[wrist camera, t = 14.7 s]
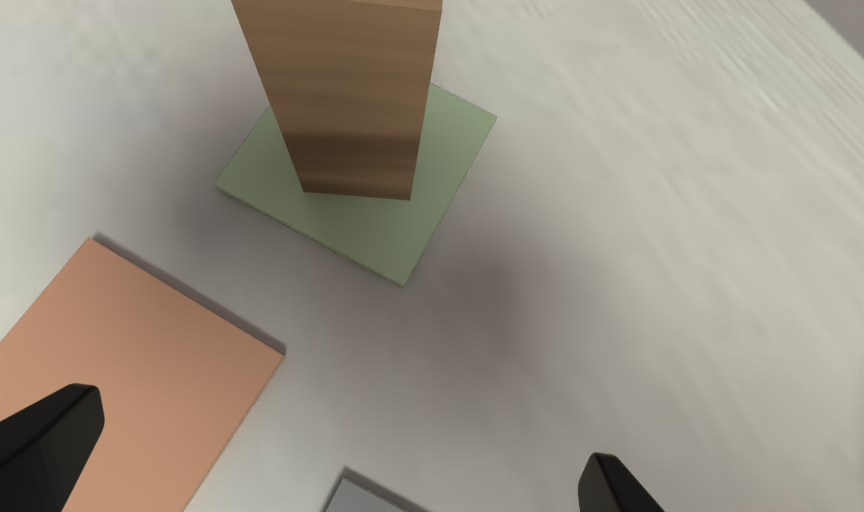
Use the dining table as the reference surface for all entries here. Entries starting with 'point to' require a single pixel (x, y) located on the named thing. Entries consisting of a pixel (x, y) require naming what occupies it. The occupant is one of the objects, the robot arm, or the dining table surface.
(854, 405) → the dining table surface
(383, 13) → the walnut block
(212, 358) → the terracotta tile
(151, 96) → the dining table surface
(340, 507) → the slate grey tile
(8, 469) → the robot arm
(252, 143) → the sage green tile
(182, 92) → the dining table surface
